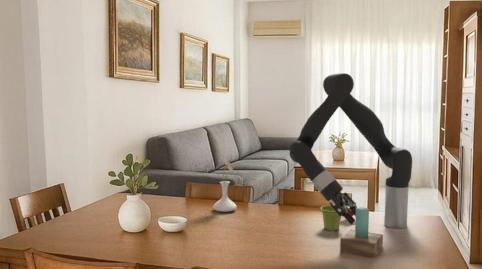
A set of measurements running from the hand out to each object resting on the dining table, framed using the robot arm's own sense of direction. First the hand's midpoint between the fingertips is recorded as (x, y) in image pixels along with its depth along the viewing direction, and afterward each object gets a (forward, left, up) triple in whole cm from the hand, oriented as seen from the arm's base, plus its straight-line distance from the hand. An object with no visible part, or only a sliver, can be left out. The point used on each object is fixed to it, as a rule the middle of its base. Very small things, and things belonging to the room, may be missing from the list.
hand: (356, 219), depth 168 cm
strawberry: (-35, -14, -11) cm, 39 cm away
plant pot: (-19, -16, -11) cm, 27 cm away
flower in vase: (-21, -70, -11) cm, 74 cm away
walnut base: (0, +2, -11) cm, 11 cm away
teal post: (0, +2, -6) cm, 6 cm away
